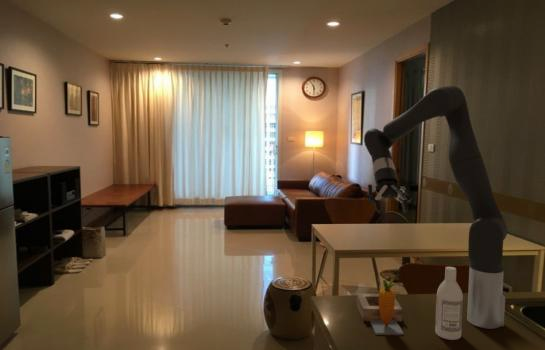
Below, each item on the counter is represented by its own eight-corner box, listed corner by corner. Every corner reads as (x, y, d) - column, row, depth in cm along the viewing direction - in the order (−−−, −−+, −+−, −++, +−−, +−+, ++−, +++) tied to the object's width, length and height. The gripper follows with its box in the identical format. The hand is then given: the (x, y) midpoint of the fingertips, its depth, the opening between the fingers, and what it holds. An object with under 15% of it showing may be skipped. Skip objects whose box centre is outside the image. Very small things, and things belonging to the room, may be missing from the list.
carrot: (391, 322, 125) (392, 274, 124) (397, 329, 120) (398, 281, 119) (375, 322, 125) (376, 275, 123) (380, 330, 120) (381, 281, 118)
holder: (391, 305, 139) (392, 293, 138) (402, 321, 127) (402, 309, 126) (356, 304, 139) (356, 293, 139) (363, 321, 127) (363, 308, 127)
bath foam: (466, 338, 116) (469, 271, 114) (445, 342, 114) (448, 273, 112) (450, 327, 123) (453, 263, 121) (430, 330, 121) (432, 265, 119)
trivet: (396, 322, 126) (396, 320, 126) (403, 335, 118) (403, 333, 118) (370, 322, 127) (370, 320, 127) (375, 334, 119) (375, 332, 119)
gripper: (366, 166, 141) (372, 205, 131) (407, 166, 141) (417, 205, 131) (363, 180, 147) (368, 217, 137) (402, 179, 147) (411, 217, 137)
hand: (392, 211), depth 134 cm, fingers open, 8 cm apart
